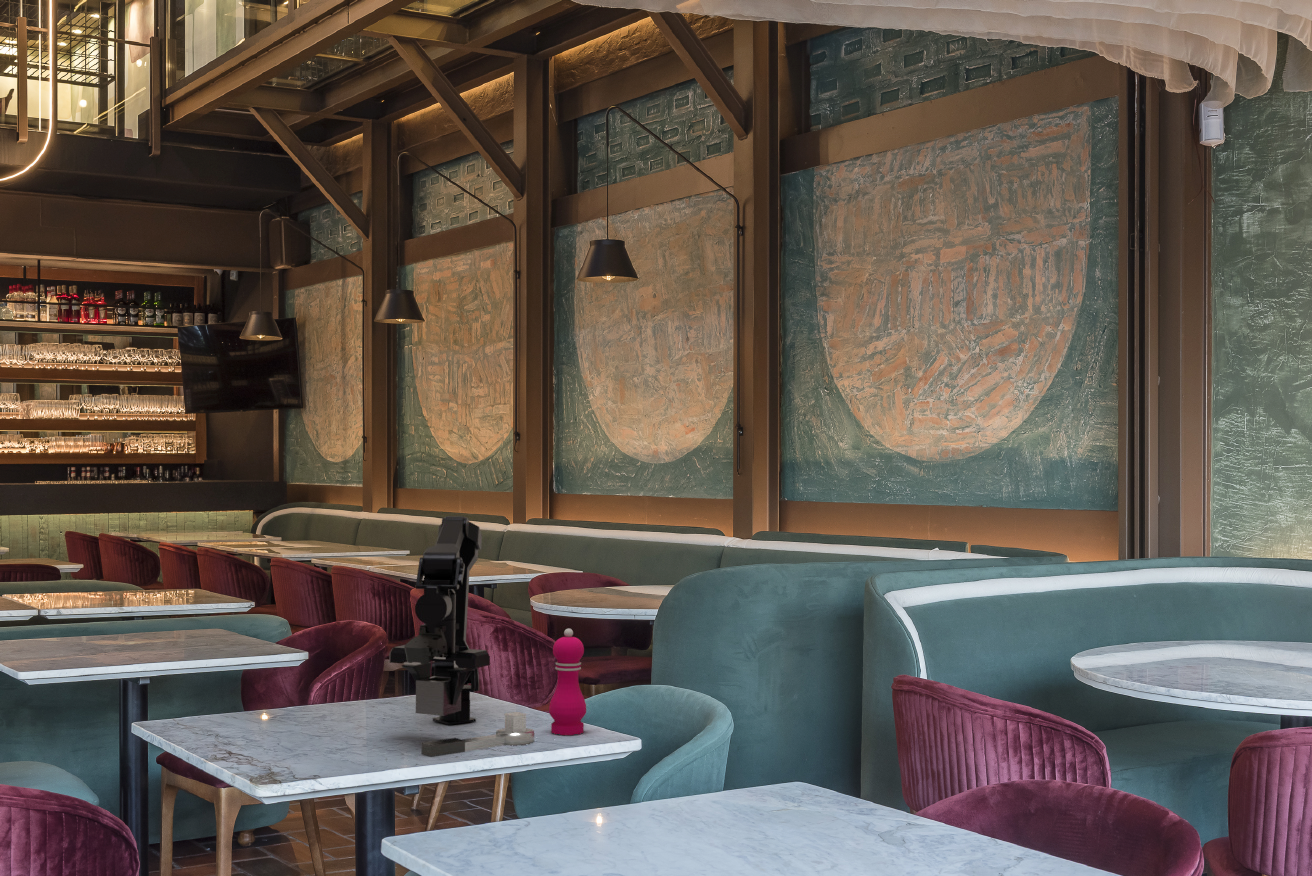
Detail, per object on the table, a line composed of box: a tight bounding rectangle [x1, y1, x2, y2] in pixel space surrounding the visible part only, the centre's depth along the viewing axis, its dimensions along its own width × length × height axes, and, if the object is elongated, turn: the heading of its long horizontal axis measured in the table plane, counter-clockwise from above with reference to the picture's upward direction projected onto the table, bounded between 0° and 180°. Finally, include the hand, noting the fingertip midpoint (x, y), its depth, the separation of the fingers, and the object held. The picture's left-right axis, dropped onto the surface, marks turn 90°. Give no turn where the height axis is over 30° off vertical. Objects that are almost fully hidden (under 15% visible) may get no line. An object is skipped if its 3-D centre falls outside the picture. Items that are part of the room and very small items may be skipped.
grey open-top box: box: [415, 675, 461, 716], centre depth 236 cm, size 6×6×6 cm
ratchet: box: [420, 711, 535, 758], centre depth 232 cm, size 7×22×5 cm, turn 131°
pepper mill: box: [548, 628, 587, 736], centre depth 246 cm, size 7×7×20 cm
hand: (438, 703), depth 236 cm, fingers closed on grey open-top box, 6 cm apart
